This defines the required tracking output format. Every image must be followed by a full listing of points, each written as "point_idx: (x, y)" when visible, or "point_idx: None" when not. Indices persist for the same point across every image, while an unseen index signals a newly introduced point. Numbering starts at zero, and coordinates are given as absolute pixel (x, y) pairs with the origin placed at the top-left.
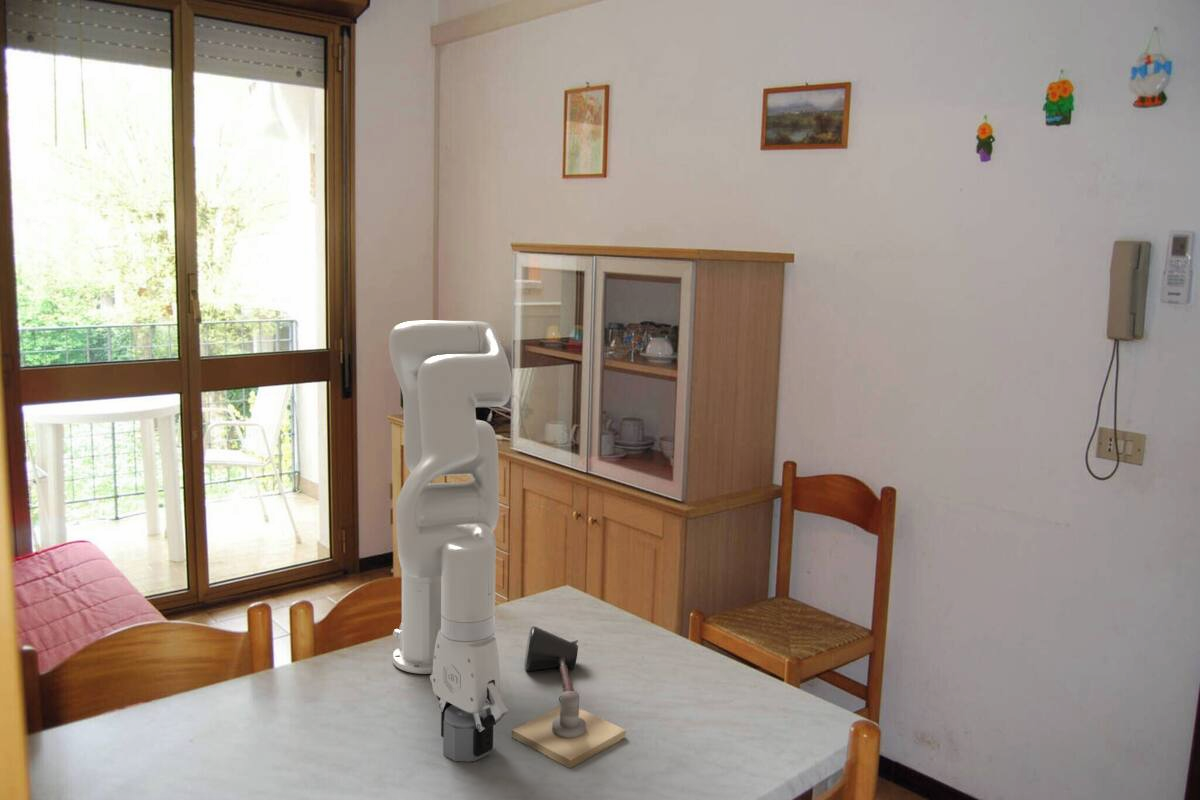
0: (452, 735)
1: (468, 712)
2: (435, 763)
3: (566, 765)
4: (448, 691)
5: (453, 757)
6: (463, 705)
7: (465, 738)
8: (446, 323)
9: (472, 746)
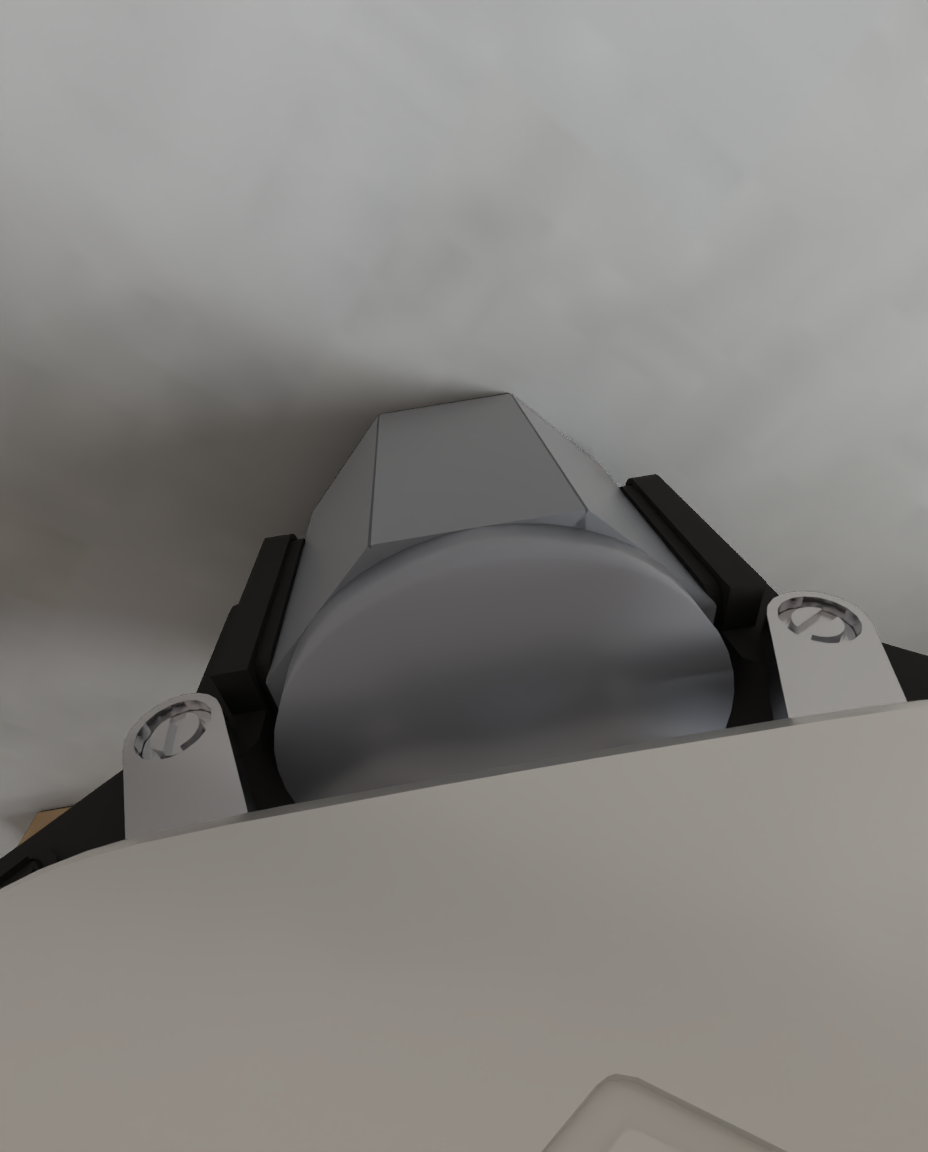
0: (420, 490)
1: (94, 849)
2: (446, 275)
3: (59, 812)
4: (755, 1018)
5: (399, 419)
6: (174, 929)
7: (325, 561)
8: None
9: (302, 563)
